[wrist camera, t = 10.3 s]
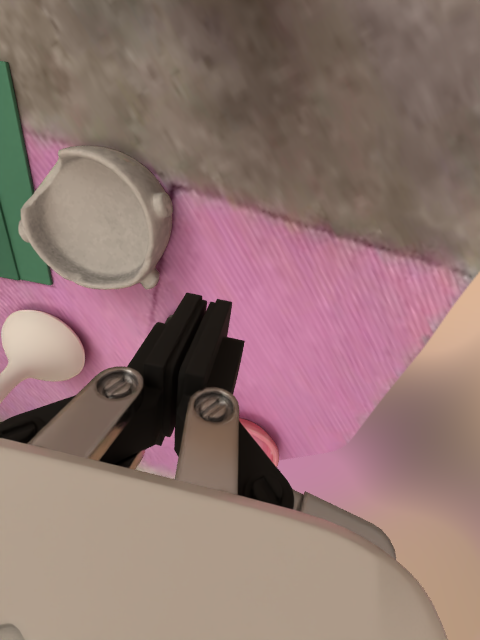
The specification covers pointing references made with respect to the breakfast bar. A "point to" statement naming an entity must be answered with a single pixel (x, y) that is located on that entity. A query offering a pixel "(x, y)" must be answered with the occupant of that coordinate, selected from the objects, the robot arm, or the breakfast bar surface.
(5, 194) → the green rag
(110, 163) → the dish
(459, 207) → the breakfast bar surface
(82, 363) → the flower in vase
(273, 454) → the saucer
